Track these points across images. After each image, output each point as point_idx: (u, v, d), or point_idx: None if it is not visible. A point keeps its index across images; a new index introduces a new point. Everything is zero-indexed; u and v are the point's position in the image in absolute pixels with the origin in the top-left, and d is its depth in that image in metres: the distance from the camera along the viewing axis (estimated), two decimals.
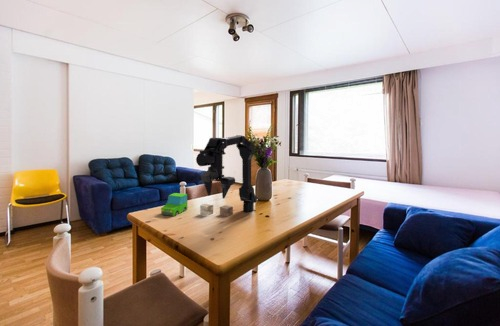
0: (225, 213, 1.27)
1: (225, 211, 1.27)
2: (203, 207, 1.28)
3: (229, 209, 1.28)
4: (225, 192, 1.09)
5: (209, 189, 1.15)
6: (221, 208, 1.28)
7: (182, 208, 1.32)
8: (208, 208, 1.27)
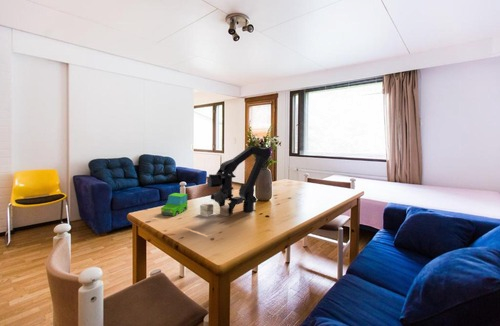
0: (225, 213, 1.27)
1: (225, 211, 1.27)
2: (203, 207, 1.28)
3: None
4: (231, 209, 1.28)
5: None
6: (221, 208, 1.28)
7: (182, 208, 1.32)
8: (208, 208, 1.27)
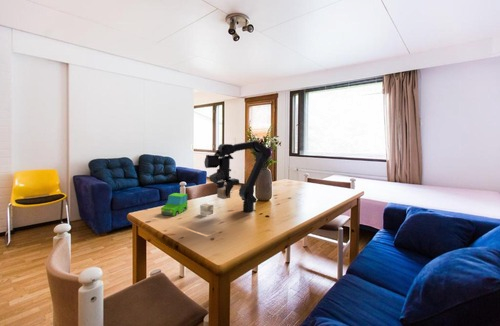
0: (221, 194, 1.26)
1: (221, 192, 1.26)
2: (203, 207, 1.28)
3: None
4: (228, 191, 1.26)
5: None
6: (218, 189, 1.28)
7: (182, 208, 1.32)
8: (208, 208, 1.27)
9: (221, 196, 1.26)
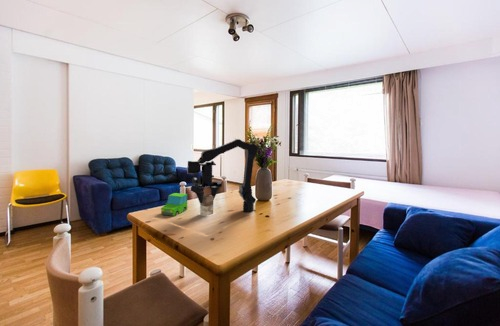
0: None
1: None
2: (203, 207, 1.28)
3: (203, 198, 1.27)
4: (199, 198, 1.24)
5: (212, 194, 1.33)
6: None
7: (182, 208, 1.32)
8: (208, 208, 1.27)
9: None
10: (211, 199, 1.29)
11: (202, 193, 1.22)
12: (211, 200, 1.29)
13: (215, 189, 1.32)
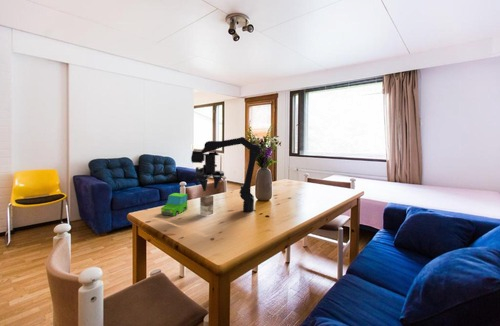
0: None
1: None
2: (203, 207, 1.28)
3: (203, 198, 1.27)
4: (203, 186, 1.31)
5: (215, 183, 1.40)
6: None
7: (182, 208, 1.32)
8: (208, 208, 1.27)
9: None
10: (211, 199, 1.29)
11: (206, 181, 1.29)
12: (211, 200, 1.29)
13: (218, 178, 1.39)
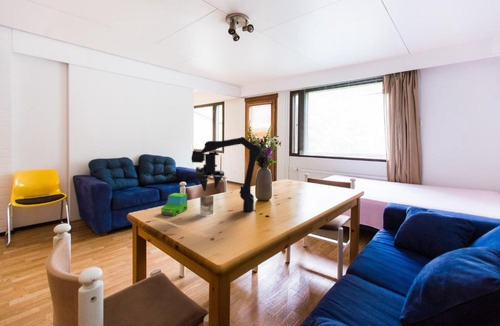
0: None
1: None
2: (203, 207, 1.28)
3: (203, 198, 1.27)
4: (203, 186, 1.32)
5: (215, 183, 1.40)
6: None
7: (182, 208, 1.32)
8: (208, 208, 1.27)
9: None
10: (211, 199, 1.29)
11: (206, 181, 1.30)
12: (211, 200, 1.29)
13: (218, 178, 1.39)
